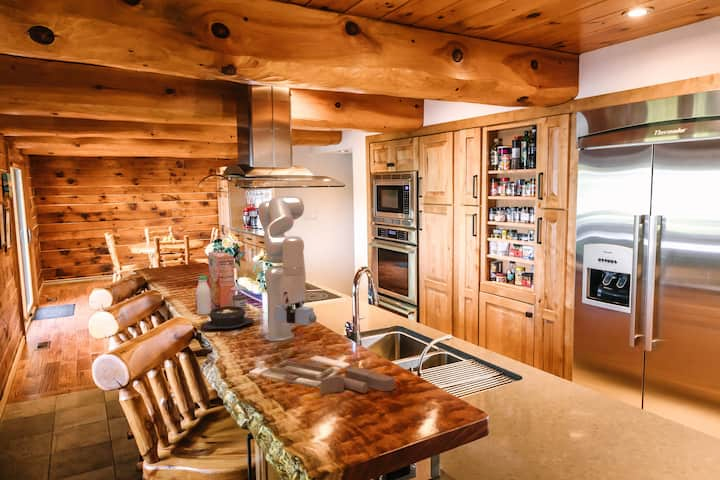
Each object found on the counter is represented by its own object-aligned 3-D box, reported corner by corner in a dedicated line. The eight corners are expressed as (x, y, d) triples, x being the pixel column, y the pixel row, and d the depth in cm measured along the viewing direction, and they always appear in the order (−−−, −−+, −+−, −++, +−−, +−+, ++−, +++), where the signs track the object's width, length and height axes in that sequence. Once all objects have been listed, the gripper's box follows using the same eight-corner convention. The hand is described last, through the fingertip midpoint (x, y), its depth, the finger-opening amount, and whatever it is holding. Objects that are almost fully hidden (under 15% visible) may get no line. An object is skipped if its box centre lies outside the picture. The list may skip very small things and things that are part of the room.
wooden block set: (350, 362, 167) (395, 373, 156) (350, 378, 167) (395, 390, 157) (318, 376, 153) (364, 390, 142) (318, 394, 154) (364, 408, 143)
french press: (252, 313, 257) (251, 266, 255) (238, 318, 247) (237, 269, 245) (237, 311, 262) (236, 265, 259) (223, 316, 251) (221, 268, 249)
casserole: (206, 335, 217) (205, 317, 216) (196, 326, 233) (195, 309, 232) (259, 327, 230) (259, 309, 229) (246, 318, 246) (246, 302, 245)
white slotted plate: (260, 369, 176) (259, 359, 175) (269, 371, 174) (268, 361, 173) (249, 375, 170) (248, 365, 170) (258, 376, 168) (257, 366, 168)
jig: (289, 362, 182) (289, 356, 182) (340, 371, 172) (340, 365, 172) (262, 376, 168) (262, 370, 168) (316, 387, 158) (316, 381, 158)
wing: (316, 358, 187) (316, 355, 187) (350, 366, 178) (350, 363, 178) (309, 361, 184) (309, 358, 184) (343, 370, 175) (343, 366, 175)
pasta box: (210, 304, 279) (208, 252, 276) (224, 302, 283) (222, 251, 280) (220, 312, 259) (218, 256, 256) (235, 310, 263) (233, 255, 260)
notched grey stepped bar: (274, 321, 179) (273, 306, 179) (280, 319, 183) (280, 304, 183) (311, 325, 172) (311, 310, 172) (317, 323, 176) (317, 308, 175)
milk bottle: (214, 312, 259) (213, 275, 258) (205, 316, 252) (204, 277, 250) (202, 311, 262) (201, 274, 260) (193, 314, 255) (191, 277, 253)
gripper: (297, 268, 186) (298, 316, 187) (270, 274, 171) (272, 325, 172) (314, 269, 182) (315, 317, 183) (288, 275, 167) (289, 327, 169)
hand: (294, 321), depth 178 cm, fingers closed on notched grey stepped bar, 4 cm apart
